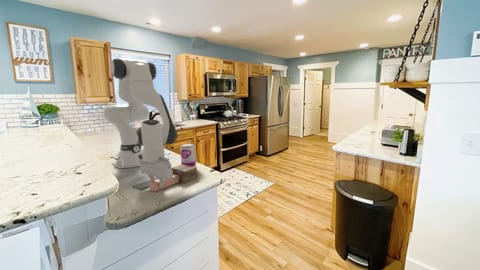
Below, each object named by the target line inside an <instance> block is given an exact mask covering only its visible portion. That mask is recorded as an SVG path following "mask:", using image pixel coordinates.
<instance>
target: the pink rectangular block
mask: <svg viewBox="0 0 480 270" xmlns="http://www.w3.org/2000/svg"><path fill="white" fill-rule="evenodd" d="M159 181H160V180H159V179H157V180H154V181H152V182H149V187H148V189H149V191H152V192H156V191H160V190H162V189H165V188H167V187H169V186H172V185H174V184H177V183H179V182H180V178H179V175H178V174H173V177H172V178H170V179H168V180H165V179H164V182H163V186H161V187H160V186H158V182H159ZM180 183H181V182H180Z"/></svg>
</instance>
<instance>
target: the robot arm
mask: <svg viewBox="0 0 480 270" xmlns="http://www.w3.org/2000/svg"><path fill="white" fill-rule="evenodd" d="M110 71H111V74H112V76H113V77H114V78H115V79H118V97H119V98H120V100H122V101H123V102H125V103H127V104H115V105H110V106H109V105H108V106H106V108H105V109H104V111H103V117H104V120H106V121H107V122H108V123H110V124H112V126H114V127H115V128H116V129H117V131H118V133H119V137H120V146H119V147H120V148H119V149H120V150H119V151H118V153H117V154H116V155H115V157H114V160H115V161H114V162H112V165H113V166H115V168H117V169H125V168H136V167H139V171H140V173H141V174H143V175H144V174H145V175H148V178H149V180H151V182H152V181H154V180H155V178H157V177H158V178H159V180H160V181H159V182H158V186H160V187H161V186H163V182H164V179H165V180H168V179H170V178H172V177H173V171H172V168H173V167H172V163H171V162H170V161H169V159H168V158H166V156H165V146H164V145H172V144H174V143H175V142H176V140H177V139H178V131H177V129H176V127H175V125H174V123H173V120H172V117H171V113H170V112H169V109H168V106H167V103H166V101H165V99H164V96H163V95H162V94H160V93H159V92H157V90H156V89H155V86H154V80H155V79H156V76H157V67H156V66H155V64H154V63H153V62H151V61H145V60H140V59H133V58H131V59H130V58H121V57H115V58H114V59H112V61H111V64H110ZM147 106H150V107H152V108H154V109H156V110H157V111H158V113H159V116H160V118H161V121H162V124H161V122H160V120H158V119H148V118H149V116H150V111H149V108H148V107H147ZM141 121H142V122H141ZM133 122H141V127H139V128H135V127H132V126H131V125H130V124H129V123H133ZM142 147H143V149H142Z"/></svg>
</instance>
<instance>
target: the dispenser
mask: <svg viewBox="0 0 480 270" xmlns="http://www.w3.org/2000/svg"><path fill="white" fill-rule="evenodd" d="M172 171H173V174H178V175H179V180H180V183H182V184H186V183H189V182H191V181H193V180H195V179H198V170H197V166H196V167H193V166H188V165H184V164H179V165H176V166H174V167H172Z"/></svg>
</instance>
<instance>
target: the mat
mask: <svg viewBox="0 0 480 270" xmlns="http://www.w3.org/2000/svg"><path fill="white" fill-rule="evenodd" d="M154 178H155V180H157V179H159V178H158V177H154ZM149 182H151V180H150V179H149V180H145V181H143V182H139V183H137V184H134V185H132V188H134V189H136V190H139V191H142V190H145V189H147V188H148V189H149Z"/></svg>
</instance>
